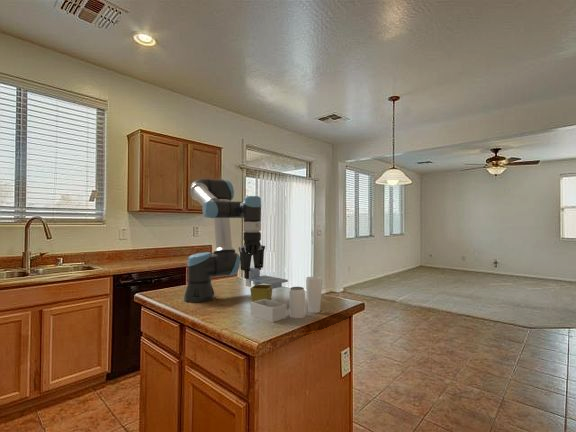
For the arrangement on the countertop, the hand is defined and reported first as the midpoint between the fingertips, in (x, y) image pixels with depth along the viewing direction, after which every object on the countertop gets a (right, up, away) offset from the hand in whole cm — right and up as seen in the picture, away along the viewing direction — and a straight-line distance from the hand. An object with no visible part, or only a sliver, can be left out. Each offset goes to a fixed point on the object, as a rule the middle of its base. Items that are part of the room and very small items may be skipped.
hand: (252, 285), depth 136 cm
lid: (+6, +1, -5) cm, 8 cm away
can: (+20, -12, -6) cm, 24 cm away
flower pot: (+3, -12, +12) cm, 17 cm away
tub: (+8, -12, -7) cm, 16 cm away
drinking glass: (+27, -12, +1) cm, 30 cm away
